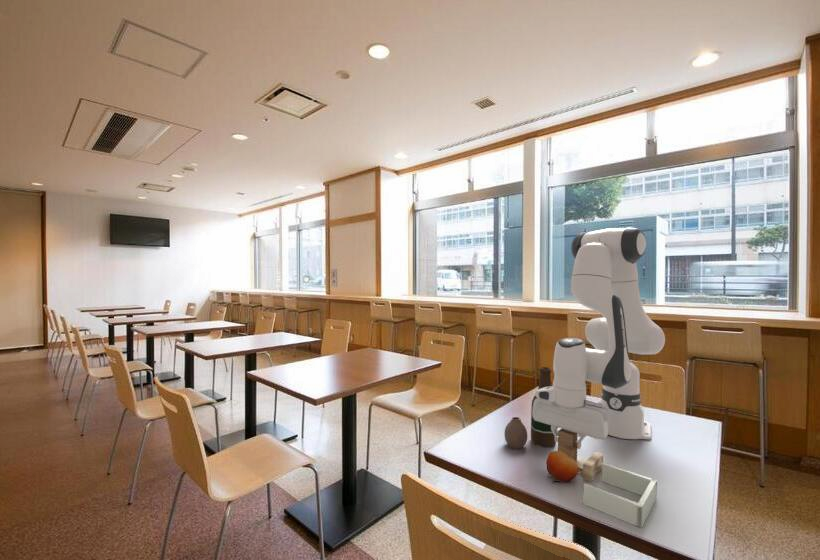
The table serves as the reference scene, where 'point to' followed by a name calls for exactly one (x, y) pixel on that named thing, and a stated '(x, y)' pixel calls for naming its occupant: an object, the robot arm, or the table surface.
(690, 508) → the table surface
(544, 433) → the beer bottle
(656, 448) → the table surface
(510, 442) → the vase
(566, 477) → the fruit
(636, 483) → the tray
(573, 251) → the robot arm
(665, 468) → the table surface
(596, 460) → the angled wooden block structure
